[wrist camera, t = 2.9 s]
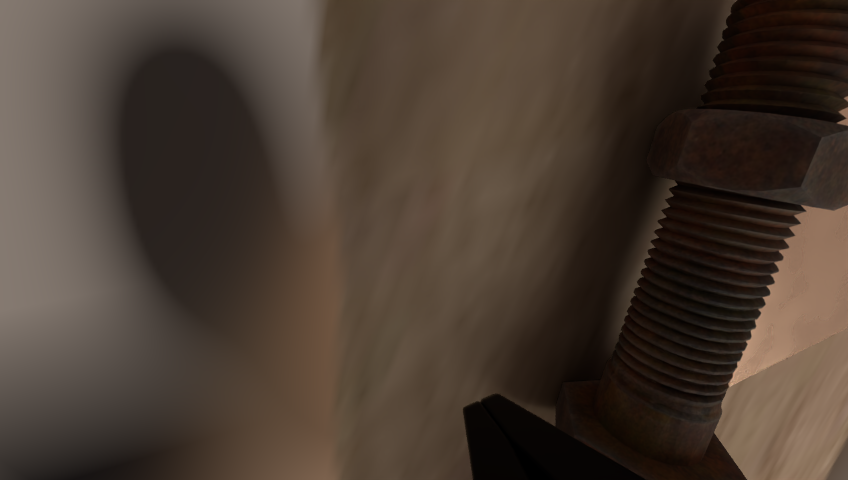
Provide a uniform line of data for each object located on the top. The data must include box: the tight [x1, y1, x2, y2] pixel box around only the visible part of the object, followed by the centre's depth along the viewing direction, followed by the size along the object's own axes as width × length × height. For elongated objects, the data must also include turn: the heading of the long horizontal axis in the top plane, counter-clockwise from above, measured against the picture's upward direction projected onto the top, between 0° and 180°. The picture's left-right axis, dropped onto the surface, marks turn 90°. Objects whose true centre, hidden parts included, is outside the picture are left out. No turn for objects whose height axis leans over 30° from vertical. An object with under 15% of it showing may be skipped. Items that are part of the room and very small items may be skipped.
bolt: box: [556, 0, 848, 480], centre depth 12 cm, size 6×5×15 cm
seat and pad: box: [729, 96, 848, 386], centre depth 15 cm, size 19×17×1 cm
